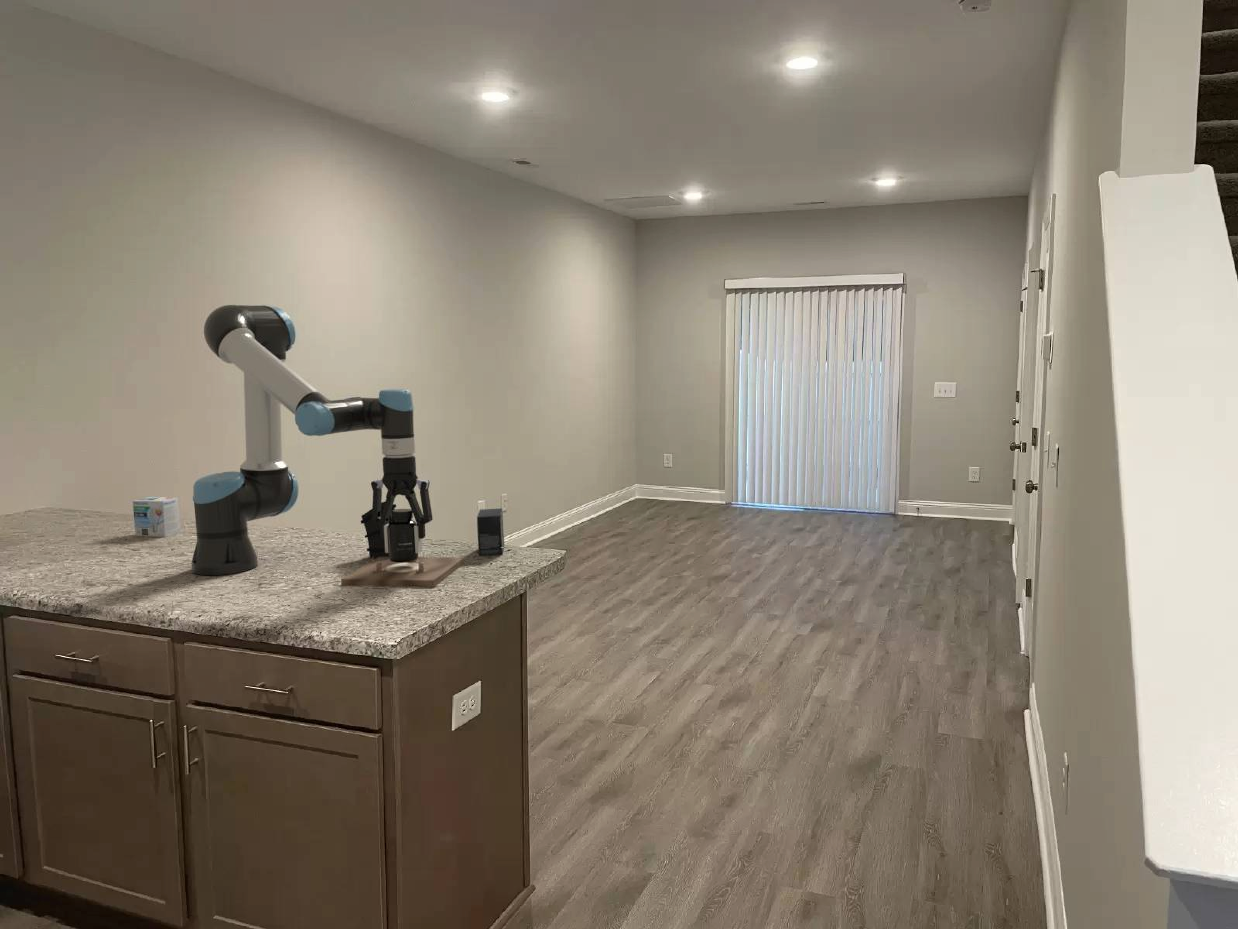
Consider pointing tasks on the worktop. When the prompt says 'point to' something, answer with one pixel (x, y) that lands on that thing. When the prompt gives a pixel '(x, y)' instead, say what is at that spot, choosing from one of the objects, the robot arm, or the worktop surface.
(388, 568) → the board
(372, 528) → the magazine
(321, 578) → the worktop surface
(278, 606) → the worktop surface
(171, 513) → the light bulb box
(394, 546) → the supplement bottle
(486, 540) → the small box
